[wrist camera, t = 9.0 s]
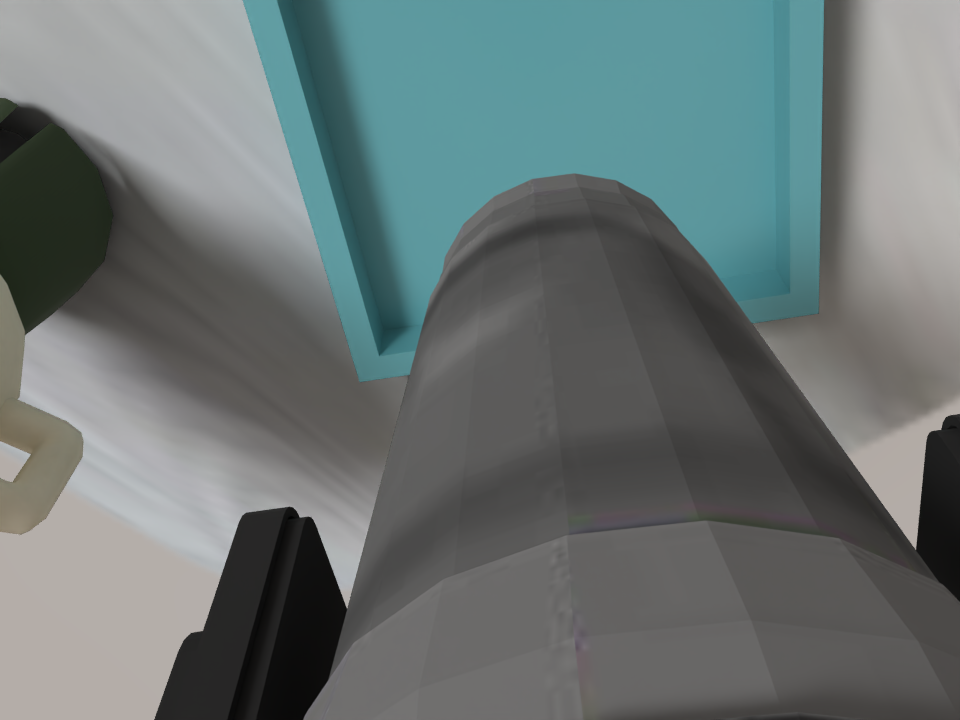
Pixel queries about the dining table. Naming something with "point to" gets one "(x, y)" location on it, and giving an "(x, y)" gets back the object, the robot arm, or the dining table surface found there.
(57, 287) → the character mug
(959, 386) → the dining table surface
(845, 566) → the beverage cup
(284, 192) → the dining table surface
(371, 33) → the tray
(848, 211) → the dining table surface
